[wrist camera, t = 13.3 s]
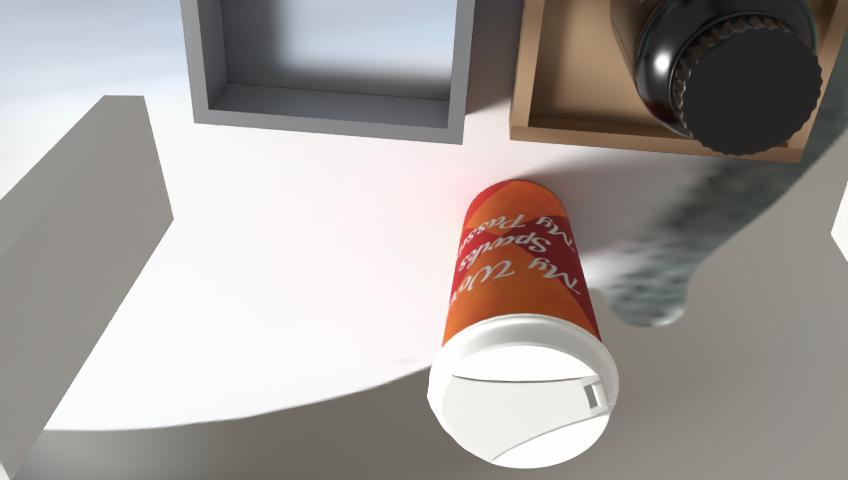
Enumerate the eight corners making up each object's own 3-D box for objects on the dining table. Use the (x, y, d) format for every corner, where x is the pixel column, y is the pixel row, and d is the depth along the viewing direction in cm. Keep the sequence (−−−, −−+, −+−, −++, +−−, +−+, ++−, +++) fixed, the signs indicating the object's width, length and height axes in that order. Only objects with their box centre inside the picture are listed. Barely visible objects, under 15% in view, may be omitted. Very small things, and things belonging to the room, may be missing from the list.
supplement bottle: (778, 23, 37) (882, 130, 27) (643, 92, 40) (694, 215, 30) (723, -109, 34) (818, -43, 24) (582, -26, 37) (615, 66, 27)
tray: (546, -189, 34) (550, -184, 32) (887, -166, 34) (913, -159, 32) (508, 119, 42) (509, 140, 40) (783, 141, 42) (799, 163, 40)
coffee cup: (567, 144, 43) (599, 316, 30) (601, 263, 47) (641, 459, 34) (422, 184, 45) (395, 361, 32) (467, 295, 49) (458, 491, 36)
